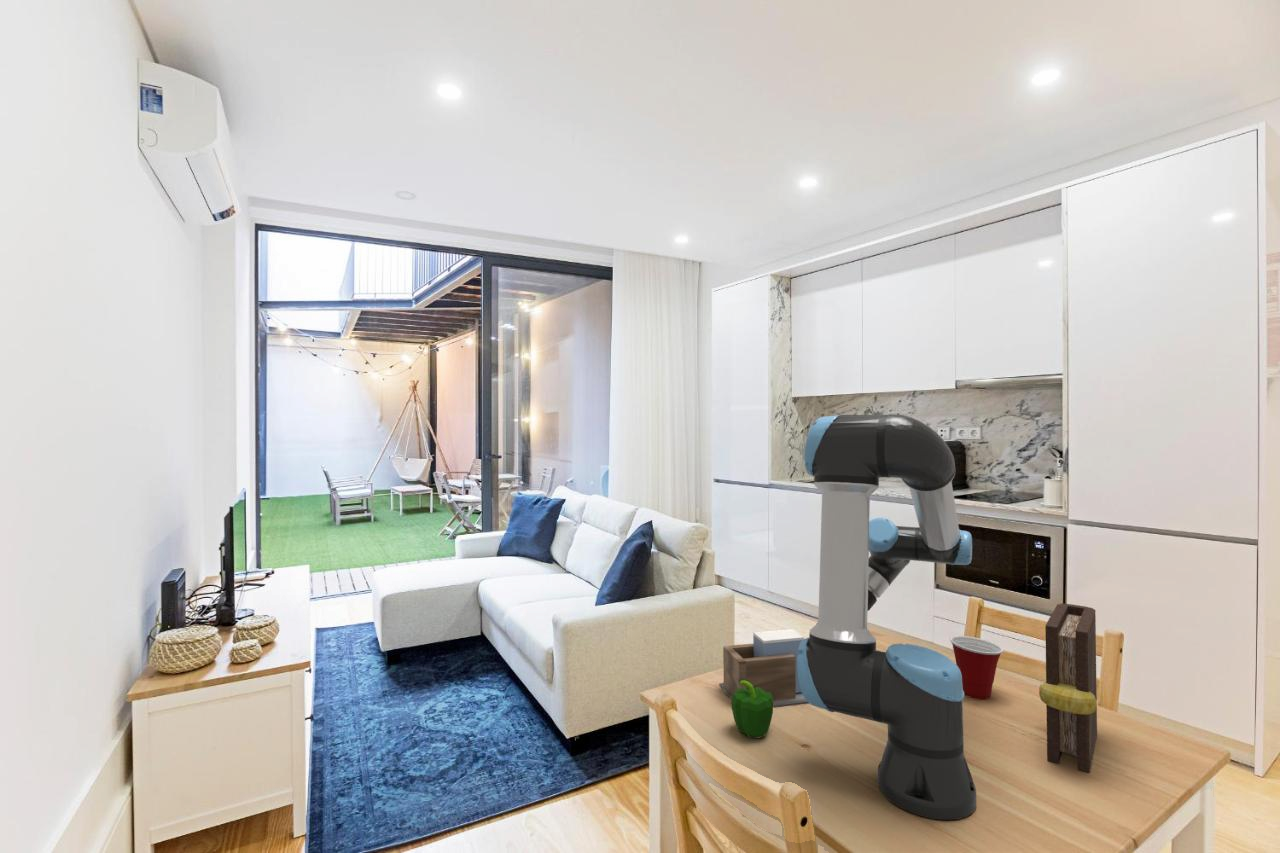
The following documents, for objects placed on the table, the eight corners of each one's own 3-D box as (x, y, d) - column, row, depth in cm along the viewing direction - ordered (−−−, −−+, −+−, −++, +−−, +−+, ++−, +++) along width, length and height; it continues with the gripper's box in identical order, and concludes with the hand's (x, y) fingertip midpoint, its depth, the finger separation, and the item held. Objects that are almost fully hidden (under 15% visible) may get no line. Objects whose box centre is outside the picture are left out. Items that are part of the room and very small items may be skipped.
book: (1053, 720, 127) (1052, 601, 127) (1104, 733, 121) (1103, 609, 121) (1037, 765, 110) (1035, 628, 110) (1096, 783, 105) (1094, 638, 105)
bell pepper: (783, 734, 122) (782, 685, 122) (753, 746, 118) (752, 695, 118) (753, 718, 129) (753, 671, 129) (724, 729, 125) (724, 680, 125)
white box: (804, 691, 140) (803, 637, 140) (764, 696, 138) (763, 641, 138) (792, 681, 146) (791, 629, 146) (753, 685, 144) (753, 632, 144)
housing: (816, 702, 136) (815, 658, 136) (741, 711, 132) (740, 665, 132) (787, 677, 150) (787, 637, 150) (719, 685, 146) (718, 643, 146)
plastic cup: (1012, 706, 133) (1012, 652, 134) (960, 703, 135) (959, 649, 135) (992, 685, 144) (991, 635, 144) (944, 683, 146) (943, 633, 146)
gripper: (891, 606, 141) (827, 685, 138) (859, 591, 154) (800, 663, 150) (870, 585, 140) (805, 663, 136) (840, 572, 153) (780, 644, 149)
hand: (802, 663), depth 143 cm, fingers closed
